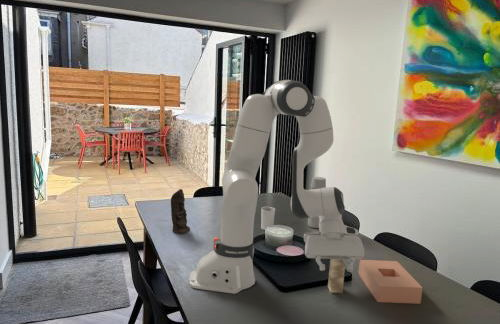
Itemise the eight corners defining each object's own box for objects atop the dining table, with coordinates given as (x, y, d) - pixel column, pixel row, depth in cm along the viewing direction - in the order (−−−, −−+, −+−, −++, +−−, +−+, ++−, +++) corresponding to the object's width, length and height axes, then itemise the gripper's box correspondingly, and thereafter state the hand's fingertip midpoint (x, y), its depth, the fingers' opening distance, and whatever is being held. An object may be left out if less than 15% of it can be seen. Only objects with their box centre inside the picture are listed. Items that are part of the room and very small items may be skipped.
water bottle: (322, 229, 188) (326, 180, 184) (306, 227, 189) (310, 178, 185) (322, 223, 197) (327, 176, 192) (307, 222, 198) (311, 175, 194)
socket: (377, 302, 121) (379, 286, 120) (358, 273, 141) (359, 259, 140) (420, 303, 121) (422, 287, 121) (395, 275, 141) (397, 261, 140)
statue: (183, 234, 171) (184, 191, 167) (169, 232, 173) (170, 189, 170) (190, 230, 177) (191, 188, 174) (177, 227, 179) (177, 186, 176)
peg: (330, 292, 126) (333, 264, 124) (327, 286, 129) (330, 259, 128) (342, 293, 126) (345, 264, 124) (339, 287, 130) (342, 259, 128)
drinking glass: (276, 228, 185) (277, 209, 184) (268, 231, 180) (269, 211, 179) (266, 225, 190) (267, 205, 188) (257, 228, 185) (258, 208, 183)
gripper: (304, 227, 132) (307, 266, 124) (362, 230, 133) (368, 268, 125) (301, 235, 138) (304, 272, 129) (357, 237, 138) (363, 274, 130)
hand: (336, 270), depth 127 cm, fingers open, 8 cm apart
